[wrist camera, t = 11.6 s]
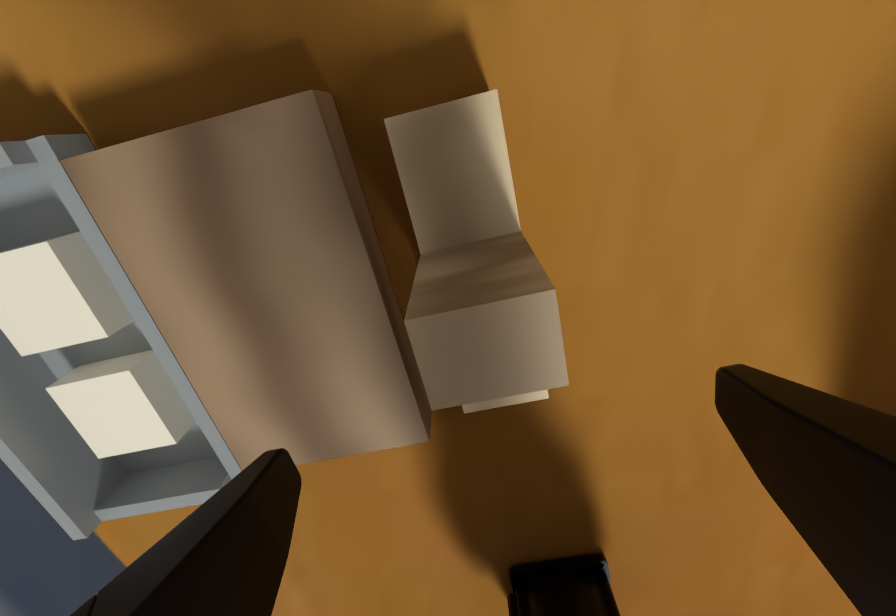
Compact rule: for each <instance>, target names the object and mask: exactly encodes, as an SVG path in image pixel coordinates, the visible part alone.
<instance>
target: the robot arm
mask: <svg viewBox="0 0 896 616" xmlns="http://www.w3.org/2000/svg"><path fill="white" fill-rule="evenodd" d="M715 405H716V409H717V411H718V413H719V415H720V417H721V418H722V420H723V422H724V423H725V425H726V427H727V428H728V430H729V432H730V433H731V435H732V436H733V438H734V440H735V441H736V443H737V445H738V446H739V448H740V450H741V451H742V453H743V454H744V456H745V458H746V459H747V461H748V463H749V464H750V466H751V468H752V469H753V471H754V472H755V474H756V476H757V477H758V479H759V480H760V482H761V483H762V485H763V486H764V487H765V489H766V490H767V492H768V493H769V494H770V496H771V497H772V498H773V500H774V501H775V502H776V504H777V505H778V506H779V507H780V509H781V510H782V511H783V513H784V514H785V515H786V517H787V518H788V519H789V521H790V522H791V523H792V525H793V526H794V527H795V528H796V530H797V531H798V532H799V534H800V535H801V536H802V538H803V539H804V540H805V542H806V543H807V544H808V546H809V547H810V548H811V549H812V551H813V552H814V553H815V555H816V556H817V557H818V559H819V560H820V561H821V563H822V564H823V565H824V567H825V568H826V569H827V570H828V572H829V573H830V574H831V576H832V577H833V578H834V580H835V581H836V582H837V584H838V585H839V586H840V587H841V589H842V590H843V591H844V593H845V594H846V595H847V597H848V598H849V599H850V601H851V602H852V603H853V605H854V606H855V607H856V608H857V610H858V611H859V612H860V614H861V615H862V616H896V417H895V416H892V415H889V414H886V413H883V412H880V411H877V410H874V409H871V408H868V407H866V406H863V405H860V404H857V403H854V402H851V401H848V400H845V399H842V398H839V397H836V396H834V395H831V394H828V393H825V392H822V391H819V390H816V389H813V388H810V387H807V386H805V385H802V384H799V383H796V382H793V381H790V380H787V379H784V378H781V377H778V376H775V375H773V374H770V373H767V372H764V371H761V370H758V369H755V368H752V367H749V366H746V365H743V364H735V365H729V366H724V367H720V368H719V369H718V370H717V371H716V379H715ZM300 490H301V476H300V473H299V471H298V469H297V468H296V466H295V464H294V462H293V460H292V458H291V456H290V454H289V452H288V451H287V450H286V449H284V448H279V449H273V450H268V451H266V452H264V453H263V454H261V455H260V456H259V457H258V458H257V459H255V460H254V461H253V462H252V463H251V464H250V465H248V466H247V467H246V468H245V469H244V470H242V471H241V472H240V473H239V474H238V475H236V476H235V477H234V478H233V479H232V480H230V481H229V482H228V483H227V484H226V485H225V486H223V487H222V488H221V489H220V490H219V491H217V492H216V493H215V494H214V495H213V496H211V497H210V498H209V499H208V500H207V501H206V502H204V503H203V504H202V505H201V506H200V507H198V508H197V509H196V510H195V511H194V512H192V513H191V514H190V515H189V516H188V517H186V518H185V519H184V520H183V521H182V522H181V523H179V524H178V525H177V526H176V527H175V528H173V529H172V530H171V531H170V532H169V533H167V534H166V535H165V536H164V537H163V538H162V539H160V540H159V541H158V542H157V543H156V544H154V545H153V546H152V547H151V548H150V549H148V550H147V551H146V552H145V553H144V554H142V555H141V556H140V557H139V558H138V559H137V560H135V561H134V562H133V563H132V564H131V565H129V566H128V567H127V568H126V569H125V570H123V571H122V572H121V573H120V574H119V575H118V576H116V577H115V578H114V579H113V580H112V581H110V582H109V583H108V584H107V585H106V586H105V587H103V588H102V589H101V590H100V591H99V592H98V595H94V596H92V597H91V598H90V599H89V600H88V601H86V602H85V603H84V604H83V605H82V606H81V607H79V608H78V609H77V610H76V611H75V612H73V613H72V614H71V615H70V616H271V614H272V611H273V607H274V604H275V600H276V597H277V593H278V590H279V587H280V583H281V580H282V576H283V573H284V569H285V565H286V561H287V558H288V553H289V549H290V544H291V539H292V533H293V528H294V522H295V517H296V512H297V506H298V501H299V495H300ZM509 577H510V581H511V585H512V588H513V592H514V593H509V595H508V597H507V599H508V608H509V616H620V613H619V610H618V607H617V604H616V601H615V598H614V595H613V592H612V589H611V585H610V577H609V569H608V563H607V561H606V558H605V557H604V556H603V555H593V556H586V557H579V558H572V559H565V560H558V561H551V562H544V563H537V564H530V565H523V566H516V567H512V568H511V569H510V570H509Z"/></svg>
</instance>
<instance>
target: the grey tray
mask: <svg viewBox="0 0 896 616" xmlns="http://www.w3.org/2000/svg"><path fill="white" fill-rule="evenodd" d="M92 151H95V148H94V146H93V144H92V143H91V141H90V139H89V137H88V135H87V133H86V134H60V135H42V136H39V137H35V138H32V139H29V140H25V141H5V142H0V252H1V251H5V250H8V249H12V248H16V247H20V246H24V245H28V244H32V243H36V242H39V241H43V240H47V239H51V238H55V237H59V236H63V235H67V234H70V233H74V232H78V231H81V233H82V235H83V236H84V238H85V240H86V241H87V243H88V245H89V246H90V248H91V249H92V251H93V253H94V254H95V256H96V258H97V259H98V261H99V263H100V264H101V266H102V268H103V269H104V271H105V272H106V274H107V276H108V277H109V279H110V281H111V282H112V284H113V286H114V287H115V289H116V290H117V292H118V294H119V295H120V297H121V299H122V300H123V302H124V304H125V305H126V307H127V309H128V310H129V312H130V313H131V315H132V317H133V318H134V320H135V321H133V322H131V323H130V324H128V325H127V326H125V327H123V328H122V329H120V330H119V331H117V332H116V333H114V334H112V335H111V336H109V337H106V338H102V339H97V340H93V341H88V342H84V343H80V344H75V345H71V346H66V347H62V348H57V349H53V350H48V351H44V352H39V353H35V354H31V355H26V356H21V355H20V354H19V352H18V351H17V350H16V348H15V347H14V346H13V344H12V343H11V342H10V341H9V339H8V338H7V337H6V335H5V334H4V333H3V331H2V330H1V329H0V458H1V459H2V461H3V462H4V463H5V464H6V465H7V466H8V467H9V468H10V470H11V471H12V472H13V473H14V474H15V475H16V476H17V477H18V479H19V480H20V481H21V482H22V483H23V484H24V485H25V486H26V487H27V489H28V490H29V491H30V492H31V493H32V494H33V495H34V496H35V497H36V499H37V500H38V501H39V502H40V503H41V504H42V505H43V507H44V508H45V509H46V510H47V511H48V512H49V513H50V514H51V516H52V517H53V518H54V519H55V520H56V521H57V522H58V523H59V525H61V527H62V528H63V529H64V530H65V531H66V532H67V533H68V534H69V536H70V537H71V538H72V539H73V540H78V539H84V538H87V537H88V536H89V535H90V534H91V533H92V532H93V530H94V529H95V528H96V527H97V526H98V525H99V524H100V523H101V521H106V520H112V519H118V518H123V517H129V516H135V515H141V514H146V513H152V512H158V511H164V510H170V509H175V508H181V507H187V506H193V505H198V504H203V503H204V502H206V501H207V500H208V499H209V498H210V497H211V496H213V495H214V494H215V493H216V492H217V491H219V490H220V489H221V488H222V487H223V486H225V485H226V484H227V483H228V482H229V481H230V480H232V479H233V478H234V477H235V476H236V475H238V474H239V473H240V472H241V471H242V469H241V467H240V466H239V464H238V462H237V461H236V459H235V457H234V456H233V454H232V452H231V450H230V449H229V447H228V445H227V444H226V442H225V440H224V439H223V437H222V435H221V433H220V432H219V430H218V428H217V427H216V425H215V423H214V422H213V420H212V418H211V416H210V415H209V413H208V411H207V410H206V408H205V406H204V405H203V403H202V401H201V399H200V398H199V396H198V394H197V393H196V391H195V389H194V388H193V386H192V384H191V383H190V381H189V379H188V377H187V376H186V374H185V372H184V371H183V369H182V367H181V366H180V364H179V362H178V360H177V359H176V357H175V355H174V354H173V352H172V350H171V349H170V347H169V345H168V343H167V342H166V340H165V338H164V337H163V335H162V333H161V332H160V330H159V328H158V326H157V325H156V323H155V321H154V320H153V318H152V316H151V315H150V313H149V311H148V309H147V308H146V306H145V304H144V303H143V301H142V299H141V298H140V296H139V294H138V292H137V291H136V289H135V287H134V286H133V284H132V282H131V281H130V279H129V277H128V275H127V274H126V272H125V270H124V269H123V267H122V265H121V264H120V262H119V260H118V258H117V257H116V255H115V253H114V252H113V250H112V248H111V247H110V245H109V243H108V242H107V240H106V238H105V236H104V235H103V233H102V231H101V230H100V228H99V226H98V225H97V223H96V221H95V219H94V218H93V216H92V214H91V213H90V211H89V209H88V208H87V206H86V204H85V202H84V201H83V199H82V197H81V196H80V194H79V192H78V191H77V189H76V187H75V185H74V184H73V182H72V180H71V179H70V177H69V175H68V174H67V172H66V170H65V168H64V167H63V165H62V163H61V162H60V160H64V159H67V158H71V157H74V156H78V155H81V154H85V153H88V152H92ZM149 350H153V351H154V353H155V354H156V356H157V358H158V359H159V361H160V363H161V364H162V366H163V368H164V369H165V371H166V373H167V374H168V376H169V377H170V379H171V381H172V382H173V384H174V386H175V387H176V389H177V391H178V392H179V394H180V395H181V397H182V399H183V400H184V402H185V404H186V405H187V407H188V409H189V410H190V412H191V414H192V415H193V417H194V418H195V420H196V422H195V423H194V424H193V425H192V426H191V428H190V429H189V430H188V431H187V432H186V433H185V435H184V436H183V437H182V438H181V439H180V441H179V442H178V443H177V444H173V445H168V446H162V447H157V448H152V449H147V450H141V451H136V452H131V453H126V454H121V455H115V456H110V457H105V458H100V459H98V457H97V456H96V455H95V453H94V452H93V451H92V449H91V448H90V447H89V445H88V444H87V443H86V442H85V440H84V439H83V438H82V436H81V435H80V434H79V432H78V431H77V430H76V428H75V427H74V426H73V425H72V423H71V422H70V421H69V419H68V418H67V417H66V415H65V414H64V413H63V411H62V410H61V409H60V408H59V406H58V405H57V404H56V402H55V401H54V400H53V398H52V397H51V396H50V394H49V393H48V392H47V391H46V389H45V388H47V387H48V386H50V385H51V384H53V383H54V382H56V381H57V380H59V379H60V378H62V377H63V376H65V375H66V374H68V373H69V372H71V371H72V370H74V369H75V368H77V367H78V366H81V365H86V364H90V363H95V362H99V361H104V360H108V359H113V358H118V357H122V356H127V355H131V354H136V353H140V352H145V351H149Z"/></svg>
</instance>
